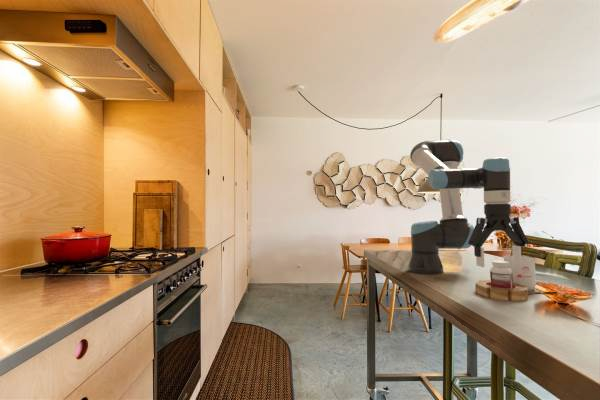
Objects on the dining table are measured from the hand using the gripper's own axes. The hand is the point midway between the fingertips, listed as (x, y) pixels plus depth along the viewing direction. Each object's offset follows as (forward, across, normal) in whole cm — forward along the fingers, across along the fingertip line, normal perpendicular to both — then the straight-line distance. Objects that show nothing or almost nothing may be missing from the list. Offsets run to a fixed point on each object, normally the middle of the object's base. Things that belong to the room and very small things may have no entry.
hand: (498, 265), depth 96 cm
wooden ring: (+9, 0, -1) cm, 10 cm away
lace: (+9, +13, -2) cm, 16 cm away
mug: (+10, +11, +5) cm, 16 cm away
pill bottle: (+10, 0, -1) cm, 10 cm away
